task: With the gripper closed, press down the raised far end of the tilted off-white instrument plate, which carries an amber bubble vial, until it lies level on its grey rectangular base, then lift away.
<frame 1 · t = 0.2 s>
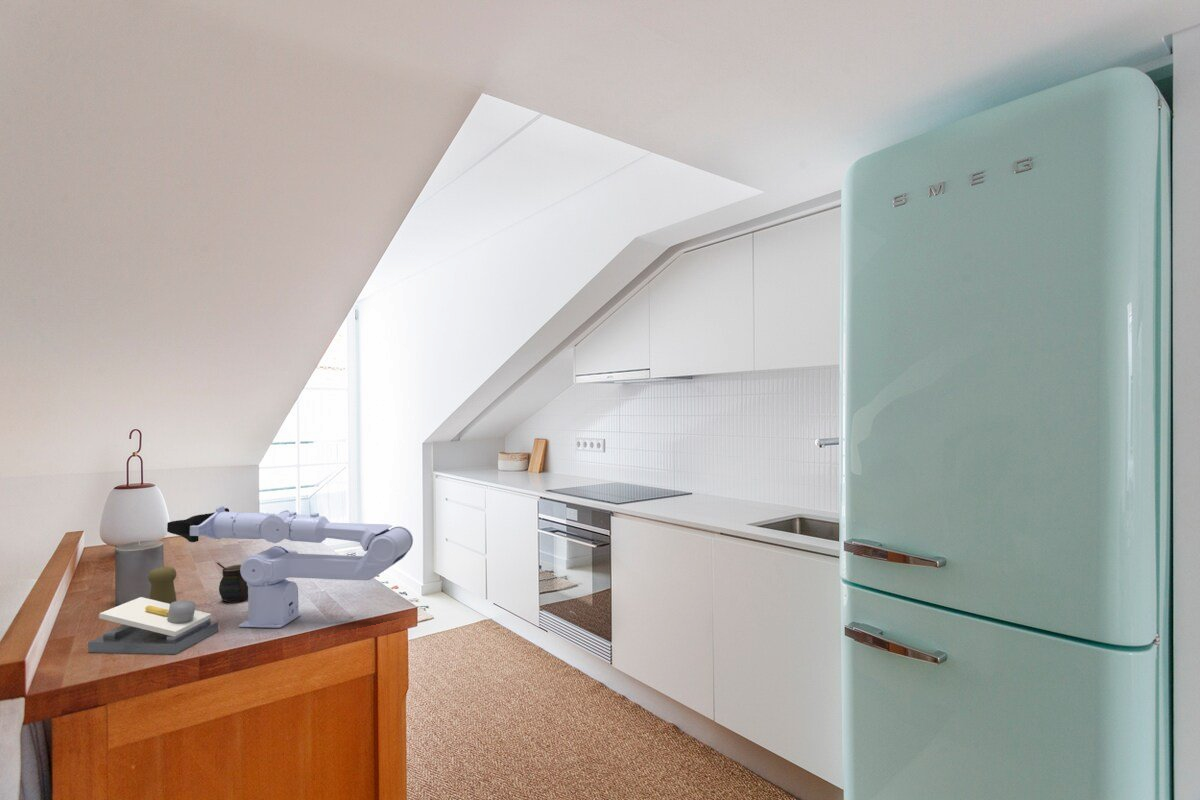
hand: (181, 523, 139), 21 cm above the table, tool horizontal, fingers open, 7 cm apart
mate gourd: (235, 600, 153), on the table
instrument plate: (158, 608, 127), point 7 cm above the table, hinge at 12.0°, touching grey rectangular base
pillar candle: (140, 601, 153), on the table
grey rectangular base: (155, 641, 127), on the table
cork: (162, 617, 142), on the table
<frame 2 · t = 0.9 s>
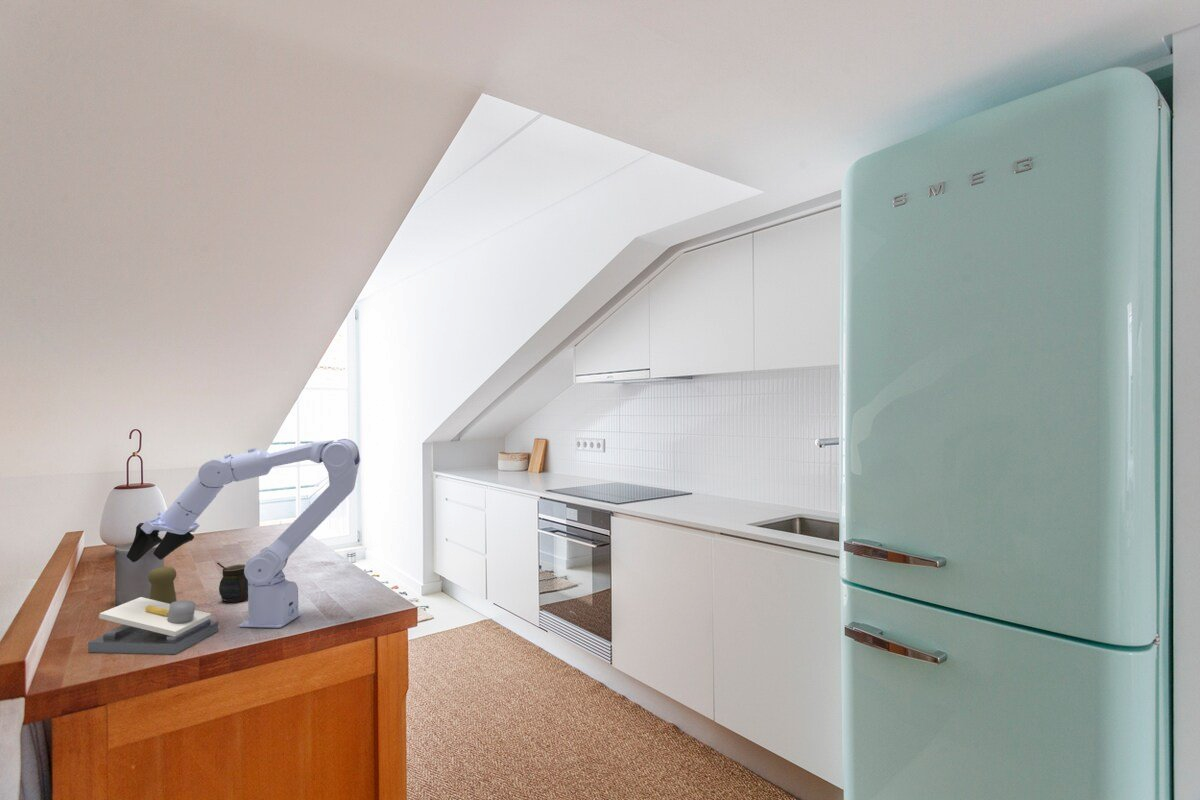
hand: (144, 557, 133), 16 cm above the table, tool tilted 40°, fingers open, 7 cm apart
nothing on the table moved.
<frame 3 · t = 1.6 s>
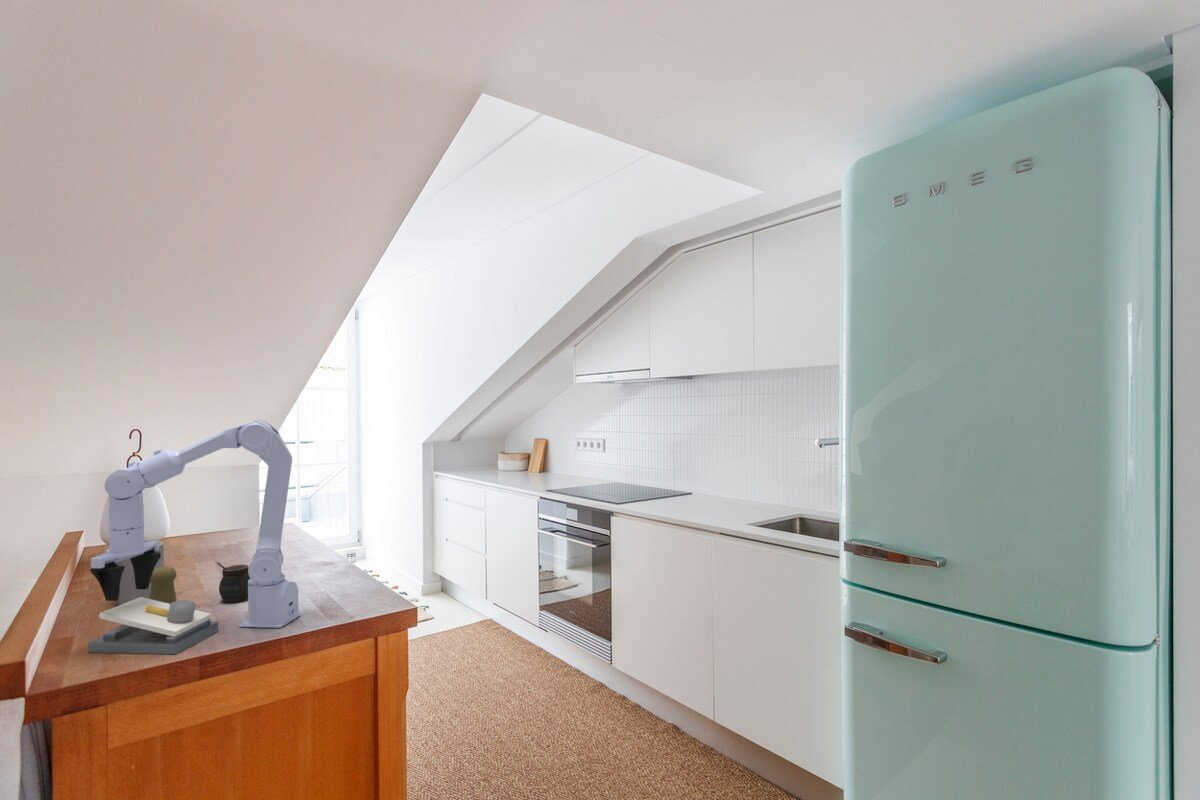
hand: (127, 594, 128), 9 cm above the table, tool pointing down, fingers open, 7 cm apart
nothing on the table moved.
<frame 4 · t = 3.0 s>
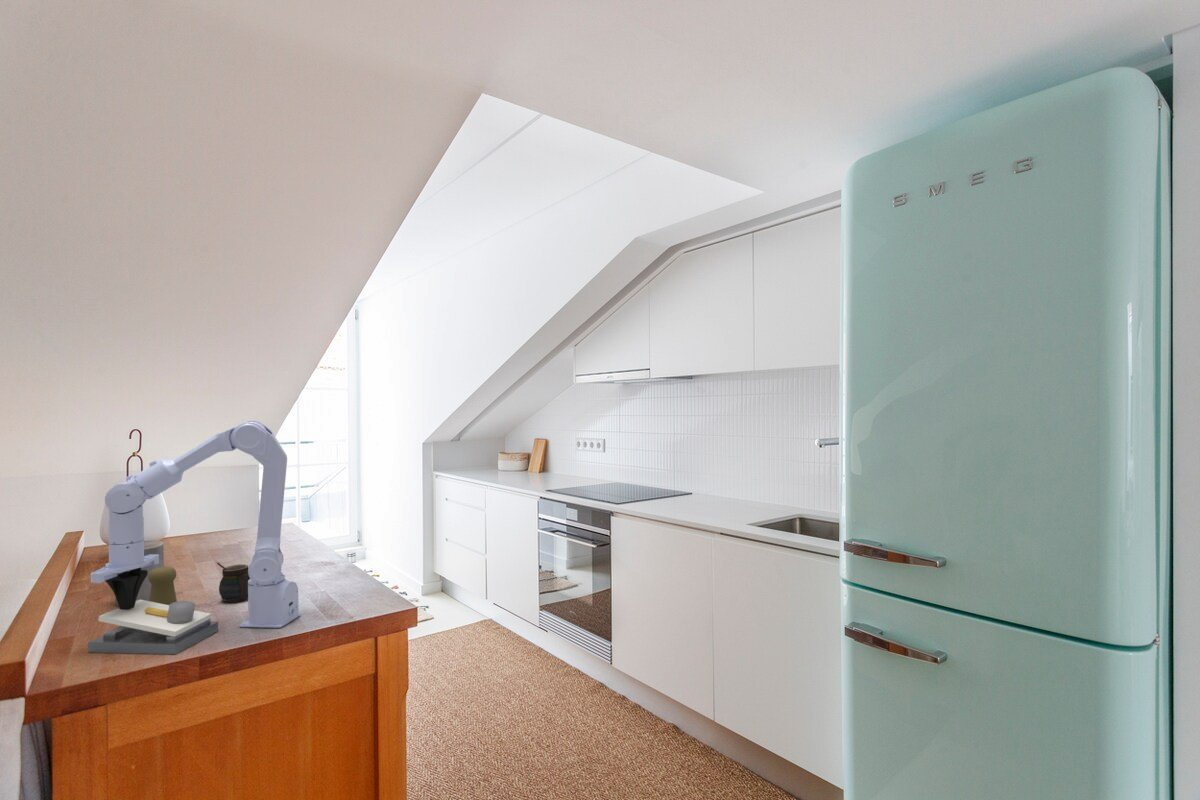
hand: (126, 608, 128), 7 cm above the table, tool pointing down, fingers closed, pressing on instrument plate
instrument plate: (157, 610, 127), point 6 cm above the table, hinge at 9.9°, touching gripper, grey rectangular base
everything else where it was.
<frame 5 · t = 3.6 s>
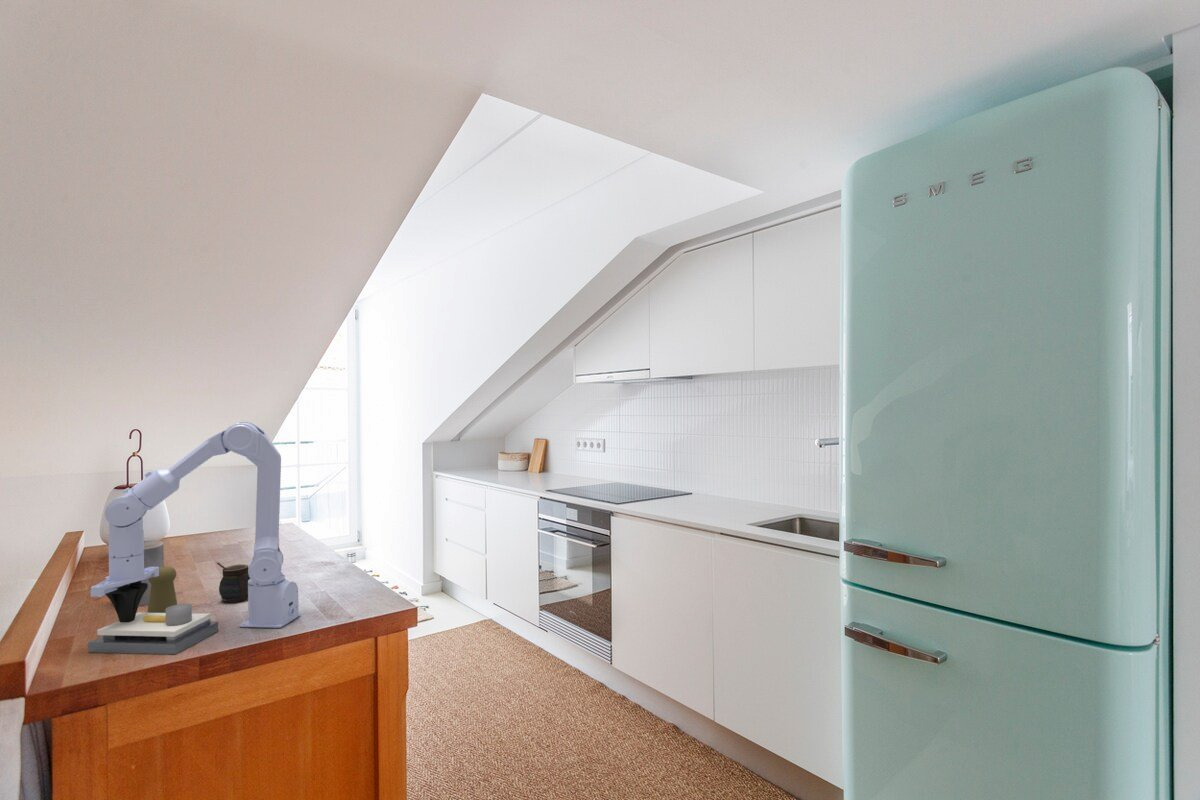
hand: (127, 621, 128), 4 cm above the table, tool pointing down, fingers closed, pressing on instrument plate
instrument plate: (155, 616, 127), point 5 cm above the table, hinge at 0.0°, touching gripper, grey rectangular base
everything else where it was.
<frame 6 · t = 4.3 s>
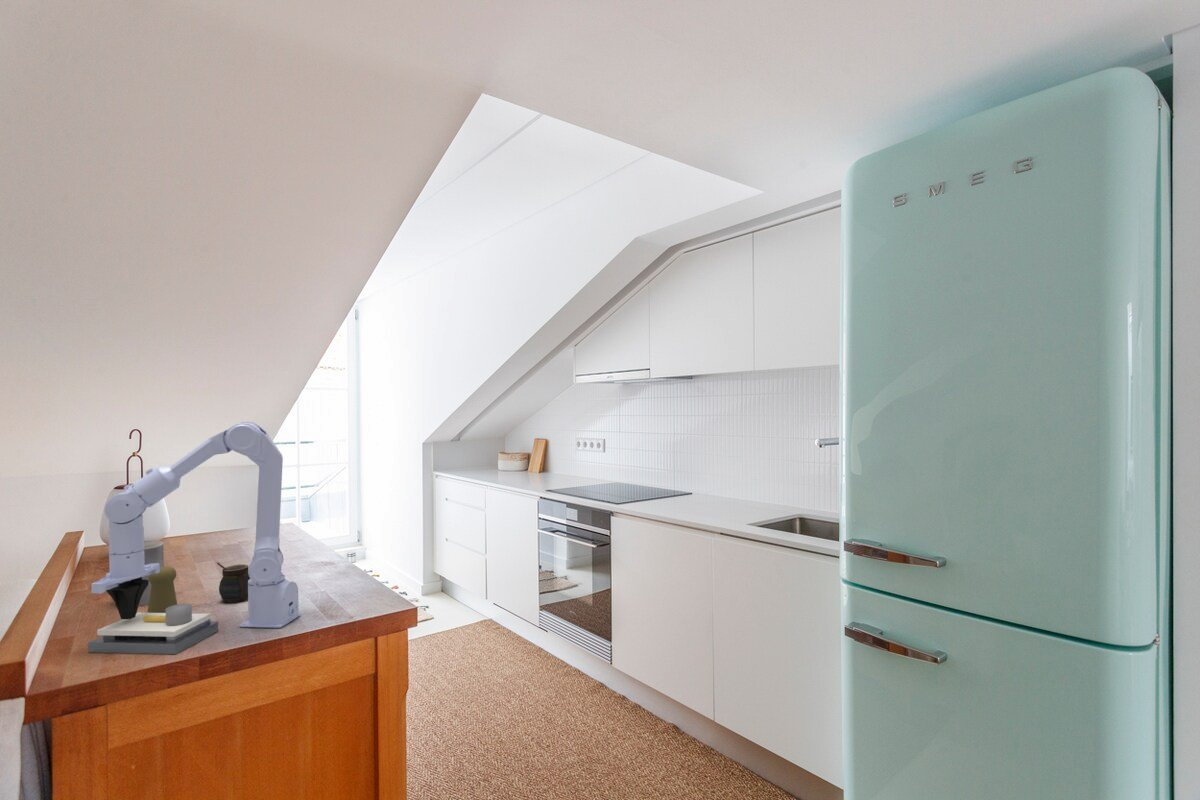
hand: (128, 618, 128), 5 cm above the table, tool pointing down, fingers closed
instrument plate: (155, 616, 127), point 5 cm above the table, hinge at 0.0°, touching grey rectangular base
everything else where it was.
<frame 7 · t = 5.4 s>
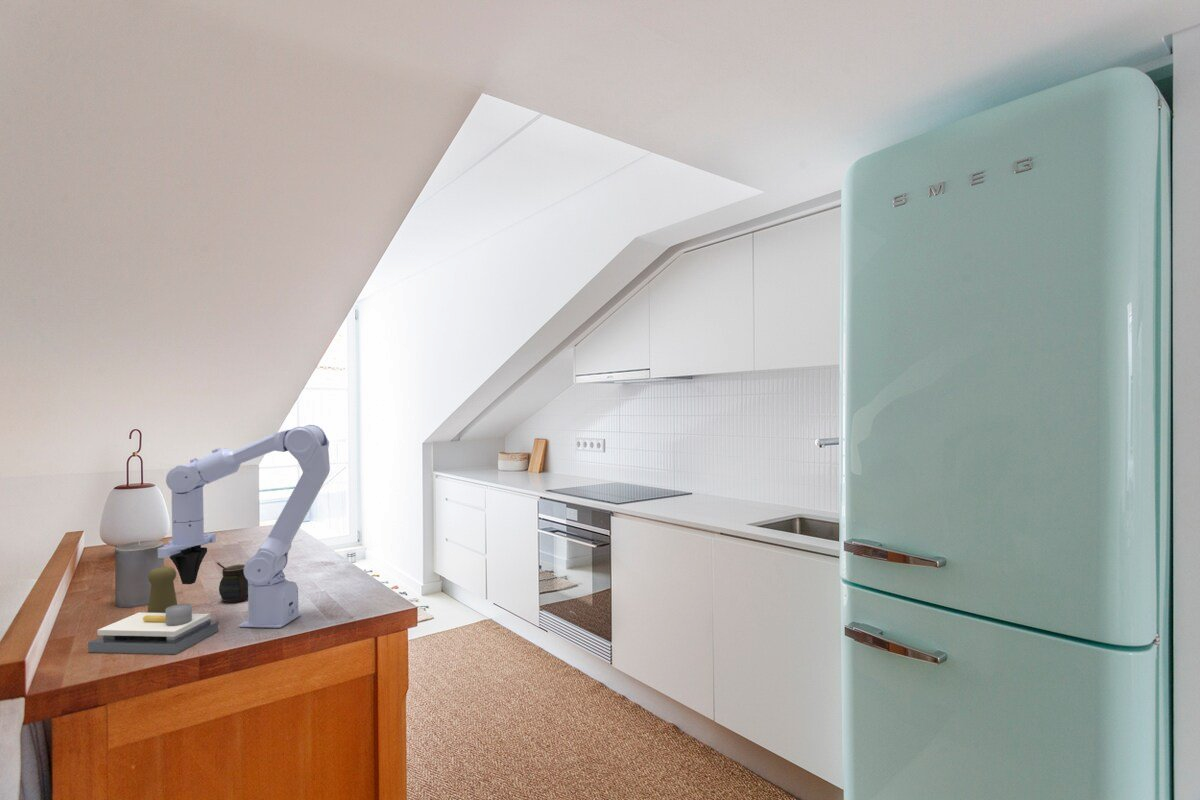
hand: (188, 583, 135), 9 cm above the table, tool pointing down, fingers closed
nothing on the table moved.
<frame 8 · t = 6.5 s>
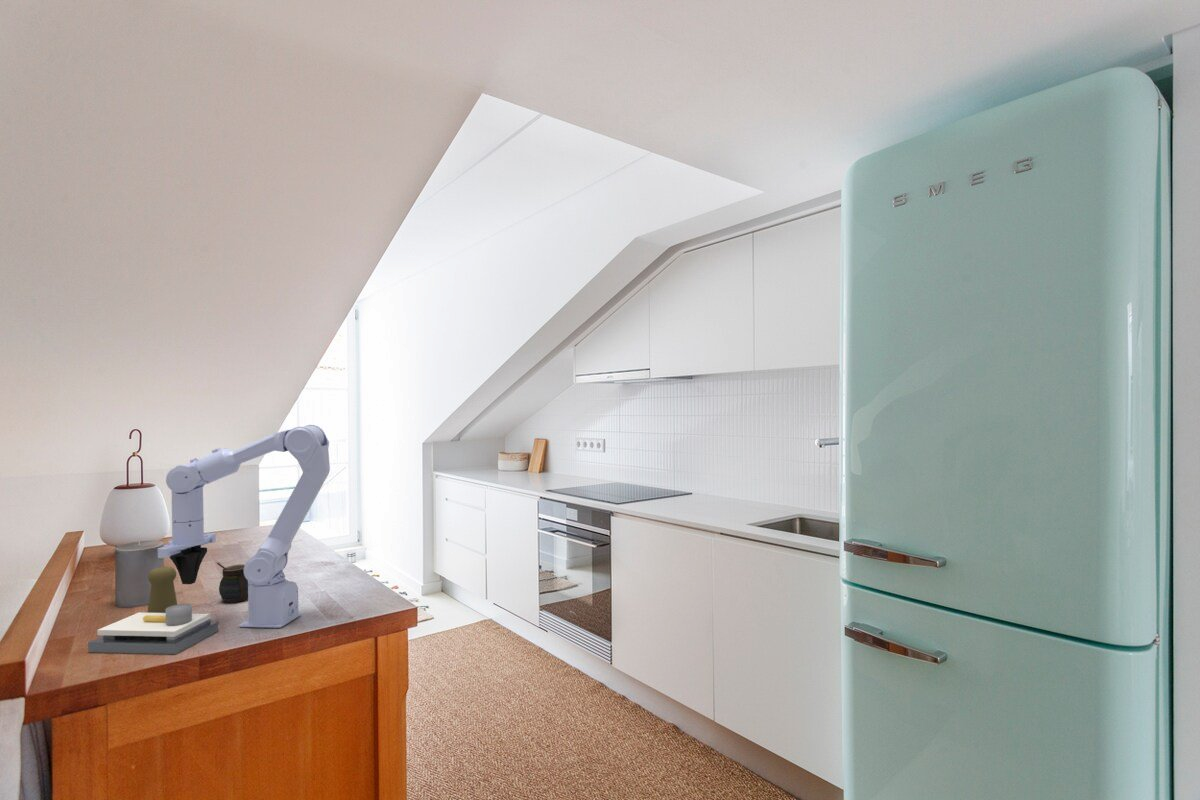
hand: (188, 583, 135), 9 cm above the table, tool pointing down, fingers closed
nothing on the table moved.
at the end: instrument plate at +0° (first picture: +12°); cork moved 0.2 cm from its start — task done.
